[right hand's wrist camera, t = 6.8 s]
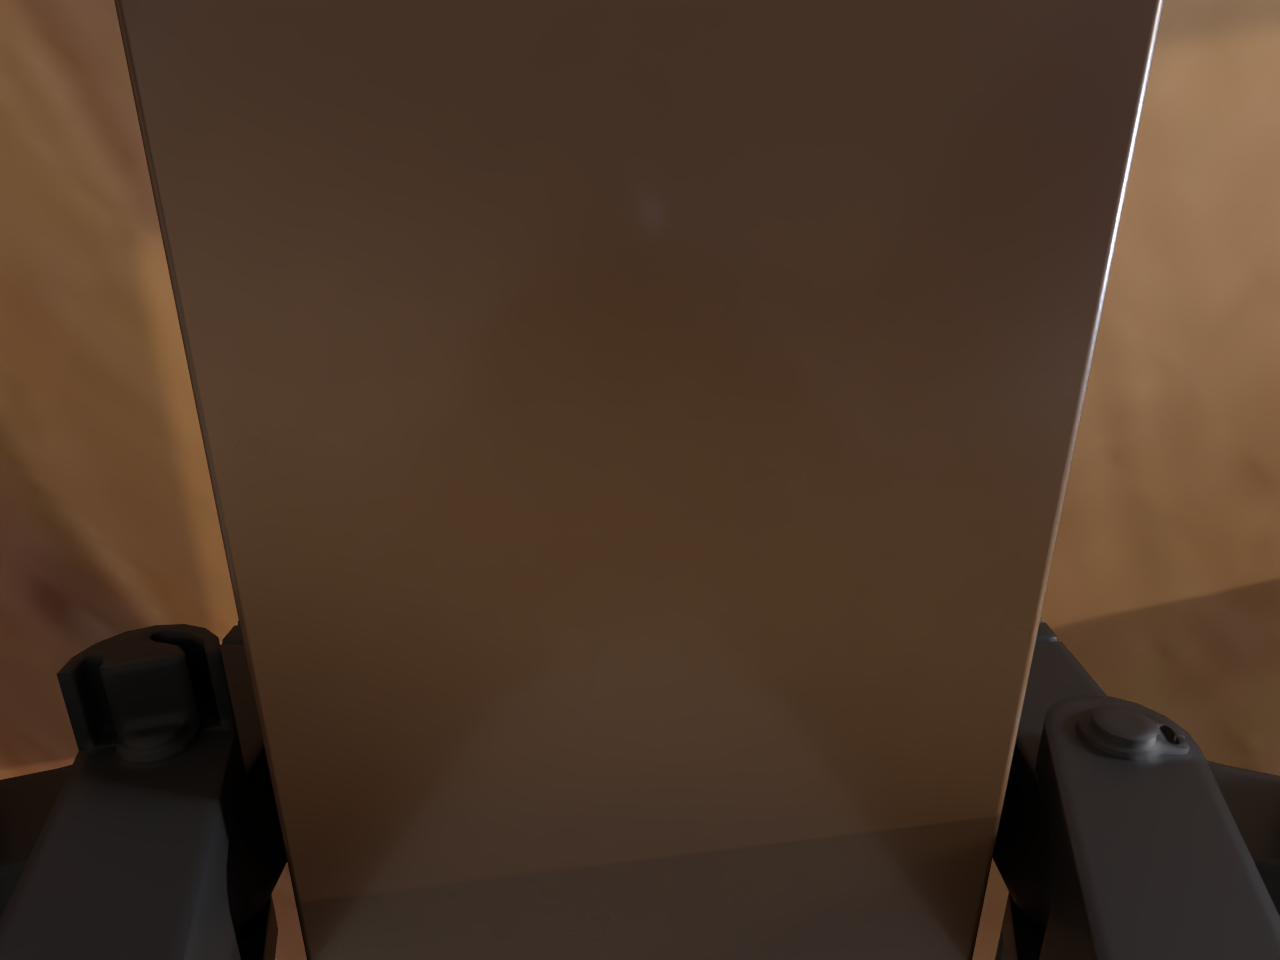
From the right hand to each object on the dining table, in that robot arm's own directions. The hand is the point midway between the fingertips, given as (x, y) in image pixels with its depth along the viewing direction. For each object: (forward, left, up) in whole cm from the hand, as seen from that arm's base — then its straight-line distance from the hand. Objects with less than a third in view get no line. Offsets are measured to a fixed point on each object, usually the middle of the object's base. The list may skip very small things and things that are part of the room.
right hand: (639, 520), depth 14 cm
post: (-4, -34, -1) cm, 35 cm away
